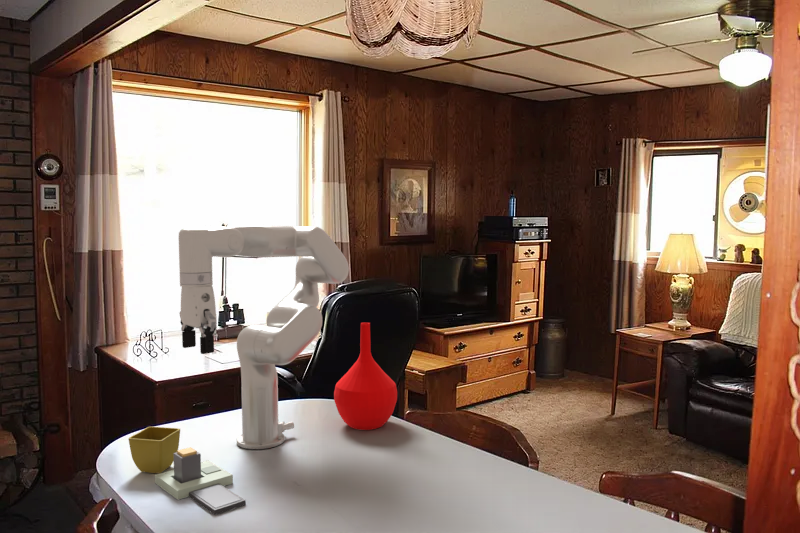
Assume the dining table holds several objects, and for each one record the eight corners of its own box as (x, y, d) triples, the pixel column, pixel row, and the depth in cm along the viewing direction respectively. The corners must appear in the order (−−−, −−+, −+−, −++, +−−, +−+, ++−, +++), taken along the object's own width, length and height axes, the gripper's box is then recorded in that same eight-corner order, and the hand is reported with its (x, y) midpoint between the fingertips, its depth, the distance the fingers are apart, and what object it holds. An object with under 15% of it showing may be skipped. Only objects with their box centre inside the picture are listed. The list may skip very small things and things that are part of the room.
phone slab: (218, 487, 148) (218, 482, 148) (245, 504, 139) (245, 499, 139) (188, 496, 143) (188, 491, 143) (214, 515, 135) (214, 509, 134)
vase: (334, 416, 200) (332, 318, 198) (394, 414, 202) (393, 317, 200) (334, 436, 182) (333, 329, 180) (400, 434, 184) (400, 327, 182)
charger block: (192, 479, 153) (192, 445, 152) (201, 485, 149) (200, 451, 149) (174, 485, 150) (173, 450, 149) (182, 491, 146) (181, 455, 146)
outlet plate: (208, 468, 159) (208, 459, 159) (232, 483, 150) (232, 473, 150) (155, 483, 151) (154, 473, 150) (177, 499, 142) (177, 489, 142)
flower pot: (162, 478, 154) (161, 440, 153) (128, 475, 155) (127, 437, 155) (182, 464, 162) (181, 428, 161) (150, 461, 164) (148, 426, 163)
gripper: (227, 281, 155) (229, 353, 156) (194, 276, 168) (196, 343, 169) (197, 283, 150) (199, 357, 151) (166, 278, 163) (168, 347, 164)
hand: (198, 350), depth 160 cm, fingers open, 9 cm apart
